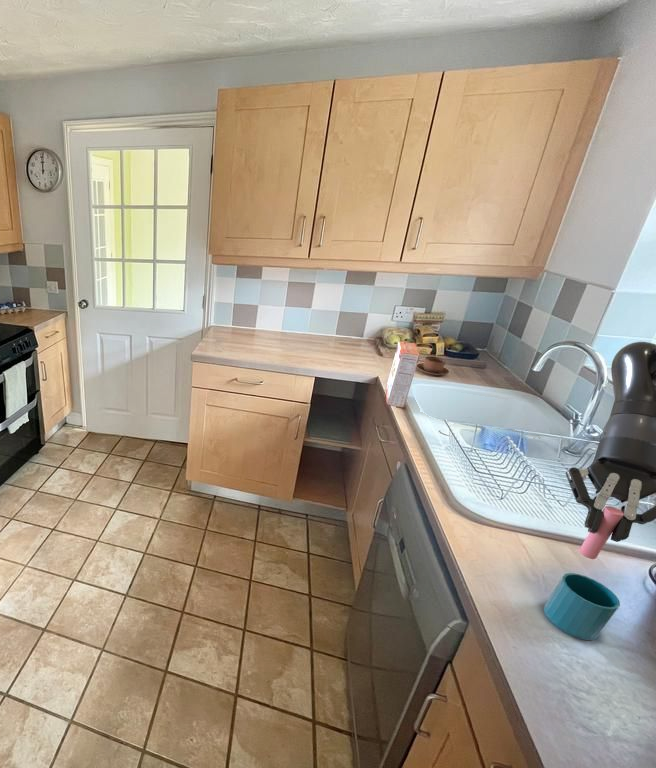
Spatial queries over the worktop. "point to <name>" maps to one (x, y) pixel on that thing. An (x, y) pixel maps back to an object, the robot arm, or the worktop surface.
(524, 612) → the worktop surface
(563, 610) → the teal cup
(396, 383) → the cracker box
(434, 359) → the cup and saucer
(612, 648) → the worktop surface
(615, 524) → the pink cylinder
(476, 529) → the worktop surface
